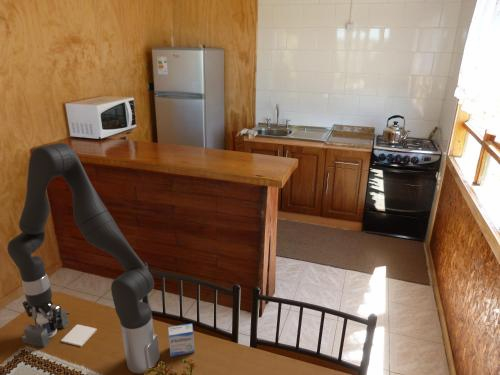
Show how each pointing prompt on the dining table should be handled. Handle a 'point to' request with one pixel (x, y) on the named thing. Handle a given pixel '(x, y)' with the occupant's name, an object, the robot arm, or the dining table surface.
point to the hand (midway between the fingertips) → (47, 327)
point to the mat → (79, 335)
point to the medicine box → (181, 339)
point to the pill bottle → (45, 324)
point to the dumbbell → (42, 332)
